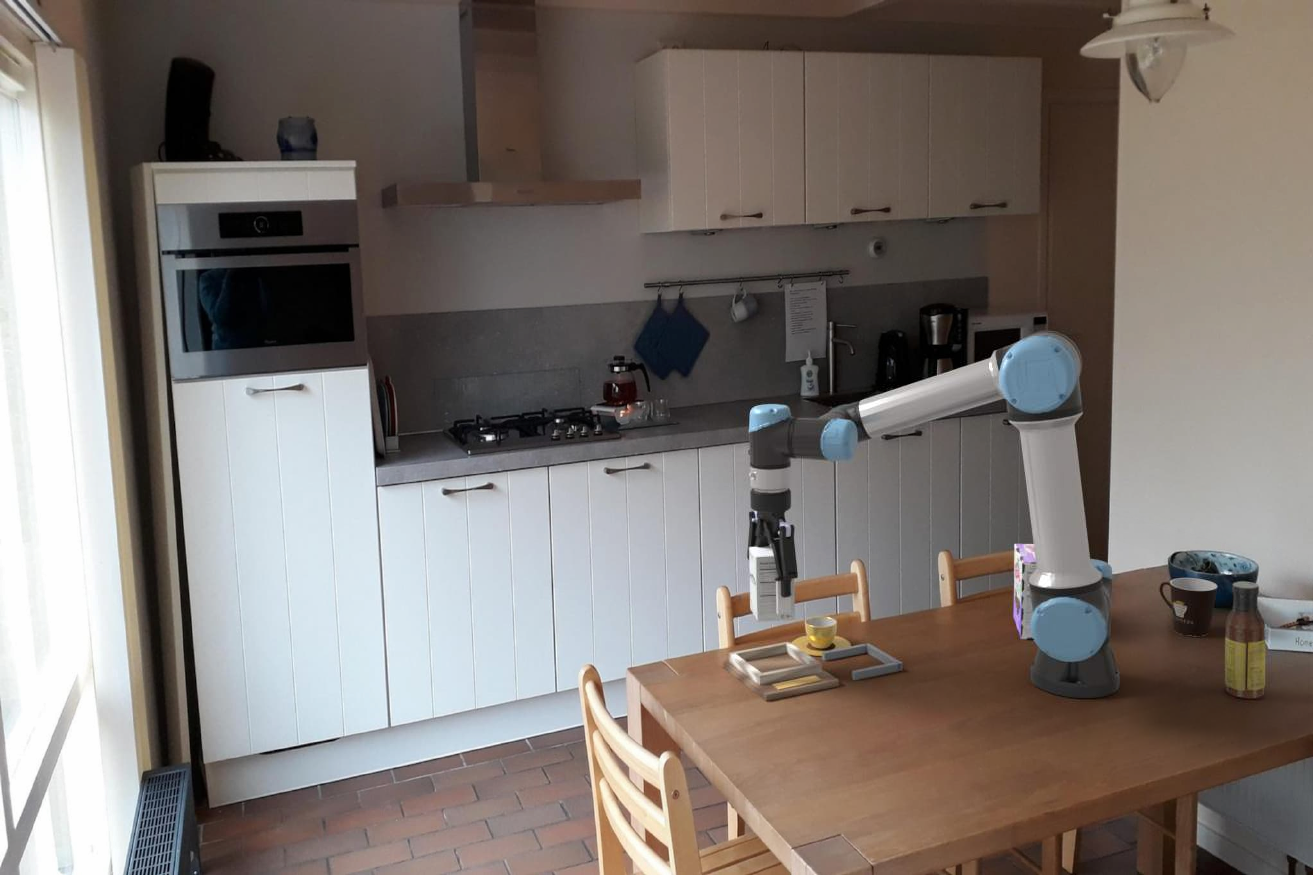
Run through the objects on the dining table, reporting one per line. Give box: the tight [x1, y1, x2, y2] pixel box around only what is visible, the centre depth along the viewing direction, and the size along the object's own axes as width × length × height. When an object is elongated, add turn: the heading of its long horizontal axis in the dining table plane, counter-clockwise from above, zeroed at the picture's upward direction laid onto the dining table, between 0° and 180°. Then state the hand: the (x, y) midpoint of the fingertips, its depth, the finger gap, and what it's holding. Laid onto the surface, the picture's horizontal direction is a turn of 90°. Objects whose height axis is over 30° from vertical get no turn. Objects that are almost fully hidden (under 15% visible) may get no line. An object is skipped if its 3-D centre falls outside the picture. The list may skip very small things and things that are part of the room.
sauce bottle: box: [1224, 580, 1266, 700], centre depth 196 cm, size 7×6×20 cm
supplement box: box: [748, 545, 796, 622], centre depth 212 cm, size 7×7×13 cm
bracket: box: [821, 642, 904, 681], centre depth 217 cm, size 12×10×2 cm
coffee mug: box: [1158, 577, 1218, 636], centre depth 229 cm, size 12×9×10 cm
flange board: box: [722, 641, 840, 702], centre depth 213 cm, size 18×15×3 cm
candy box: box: [1013, 543, 1037, 640], centre depth 232 cm, size 14×6×16 cm, turn 169°
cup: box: [790, 616, 852, 657], centre depth 228 cm, size 12×12×5 cm
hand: (772, 605), depth 213 cm, fingers closed on supplement box, 8 cm apart
